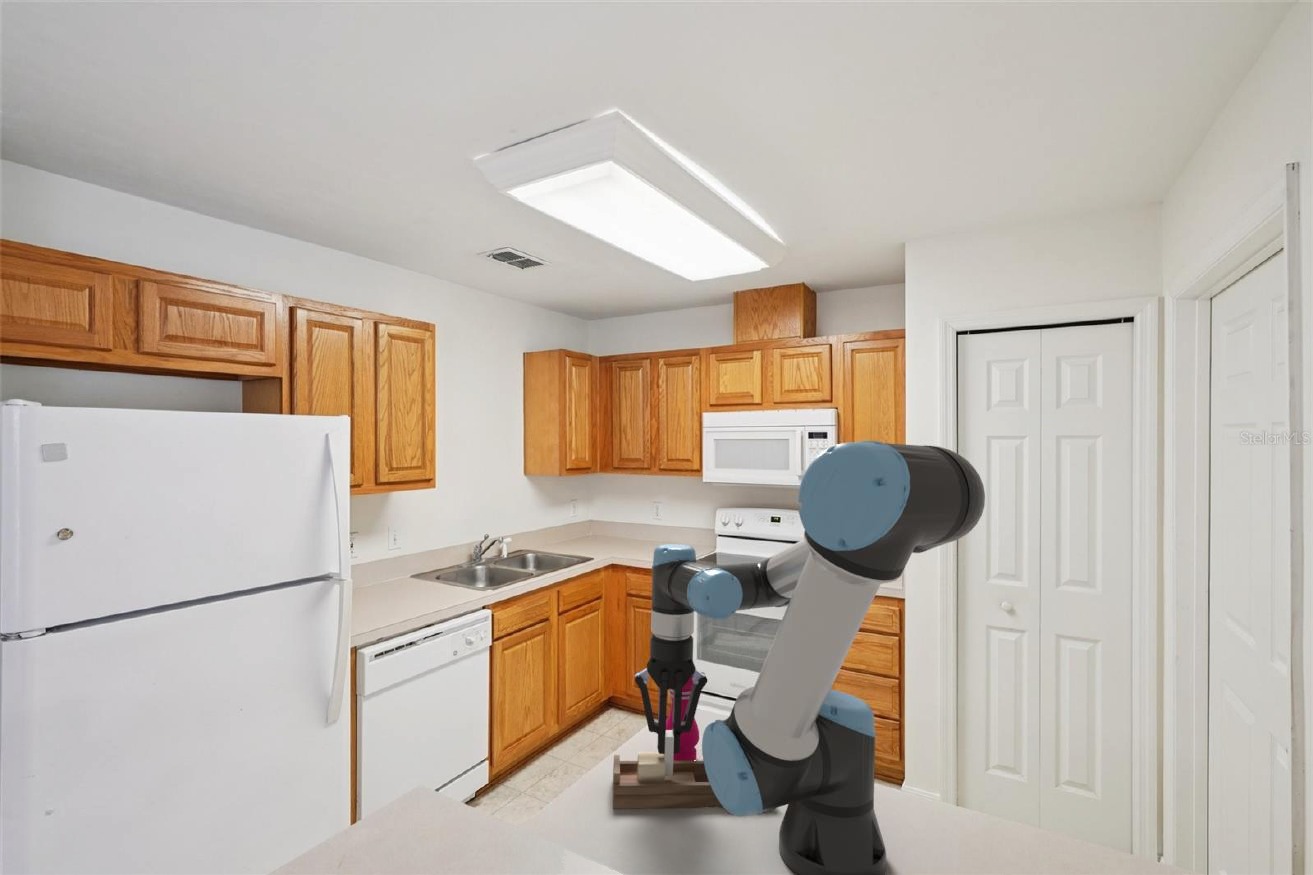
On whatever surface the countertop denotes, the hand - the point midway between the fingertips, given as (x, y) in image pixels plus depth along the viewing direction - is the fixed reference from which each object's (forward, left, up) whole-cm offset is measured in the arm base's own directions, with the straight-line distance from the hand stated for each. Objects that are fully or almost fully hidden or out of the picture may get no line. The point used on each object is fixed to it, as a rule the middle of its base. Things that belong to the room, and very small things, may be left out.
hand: (667, 771), depth 106 cm
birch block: (0, +3, -2) cm, 3 cm away
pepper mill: (+12, -4, -4) cm, 13 cm away
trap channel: (0, -4, -4) cm, 5 cm away
